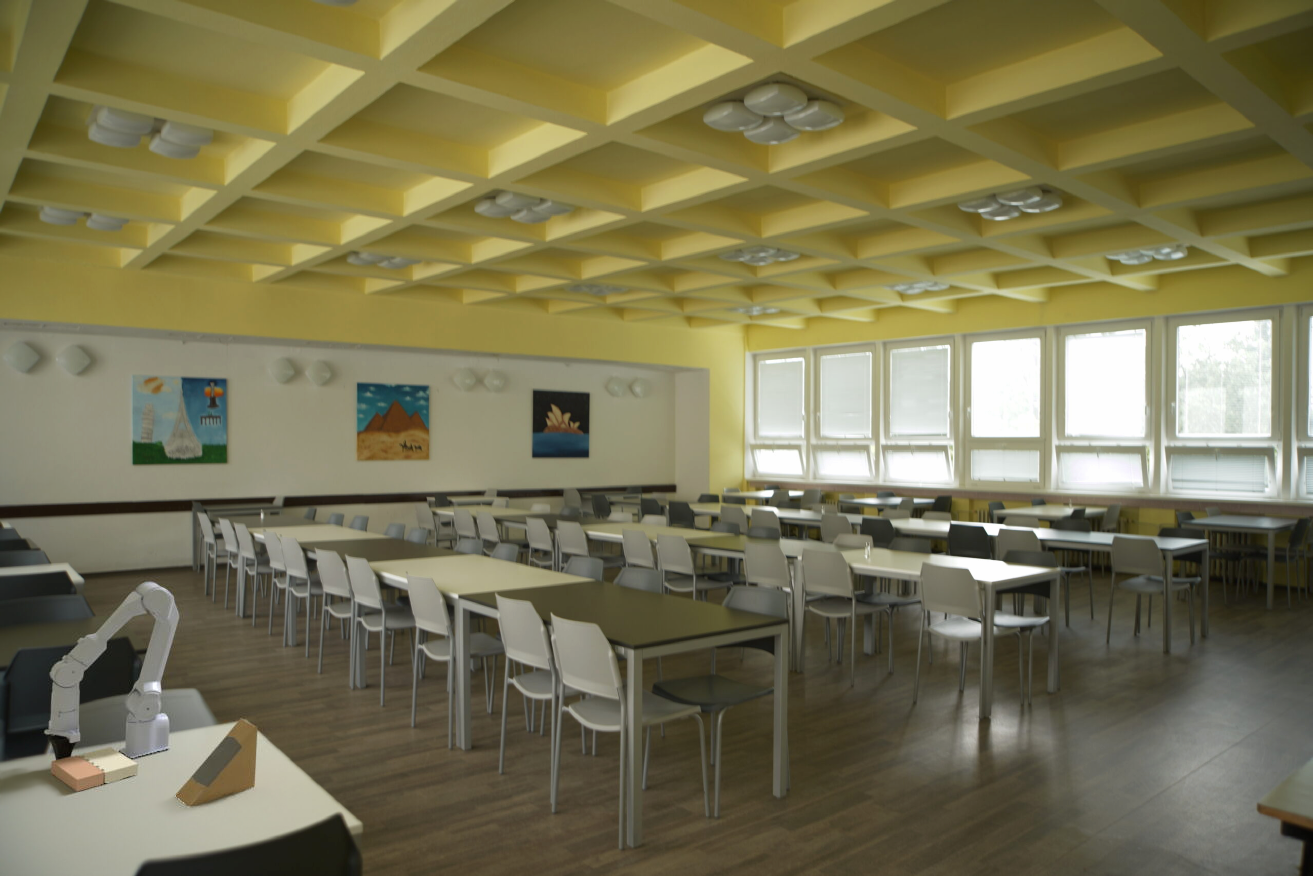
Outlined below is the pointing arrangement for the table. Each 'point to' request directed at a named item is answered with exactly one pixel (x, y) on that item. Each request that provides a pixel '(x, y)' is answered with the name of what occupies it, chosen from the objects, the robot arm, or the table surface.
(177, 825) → the table surface
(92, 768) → the block
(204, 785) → the sandwich container
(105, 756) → the board
